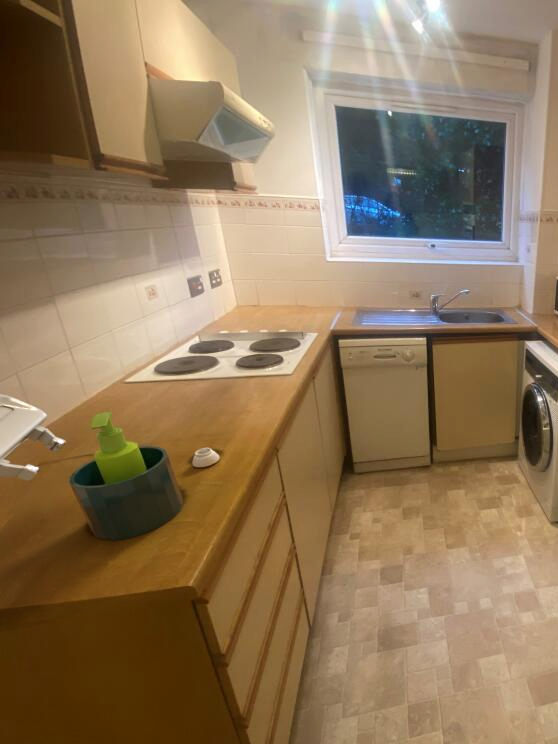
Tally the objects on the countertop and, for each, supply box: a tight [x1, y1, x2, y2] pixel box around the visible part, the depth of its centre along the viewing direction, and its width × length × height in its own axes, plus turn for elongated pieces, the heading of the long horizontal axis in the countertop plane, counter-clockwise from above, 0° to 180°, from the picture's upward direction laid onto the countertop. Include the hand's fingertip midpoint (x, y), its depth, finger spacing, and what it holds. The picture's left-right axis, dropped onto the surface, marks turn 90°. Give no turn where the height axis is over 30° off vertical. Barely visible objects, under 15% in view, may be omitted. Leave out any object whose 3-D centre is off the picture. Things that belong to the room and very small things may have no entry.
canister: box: [68, 445, 184, 542], centre depth 79 cm, size 13×13×11 cm
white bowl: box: [191, 447, 220, 468], centre depth 97 cm, size 5×3×5 cm
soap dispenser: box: [90, 410, 147, 484], centre depth 77 cm, size 6×7×20 cm
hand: (49, 460), depth 73 cm, fingers open, 8 cm apart
